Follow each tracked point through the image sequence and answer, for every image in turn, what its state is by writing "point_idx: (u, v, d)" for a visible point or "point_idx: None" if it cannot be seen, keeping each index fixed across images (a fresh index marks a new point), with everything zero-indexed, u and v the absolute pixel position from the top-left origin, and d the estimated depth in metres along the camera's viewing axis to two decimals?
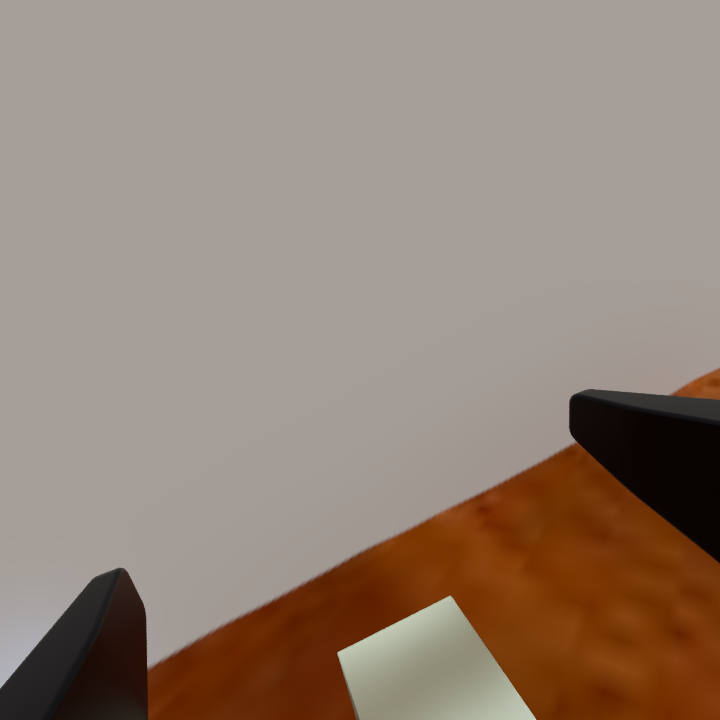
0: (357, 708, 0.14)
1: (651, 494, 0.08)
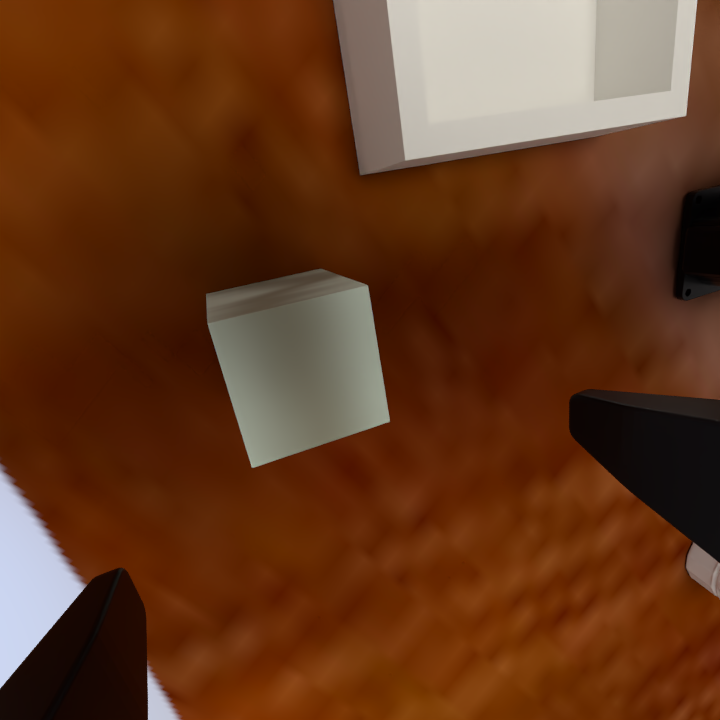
0: (312, 446, 0.14)
1: (651, 494, 0.08)
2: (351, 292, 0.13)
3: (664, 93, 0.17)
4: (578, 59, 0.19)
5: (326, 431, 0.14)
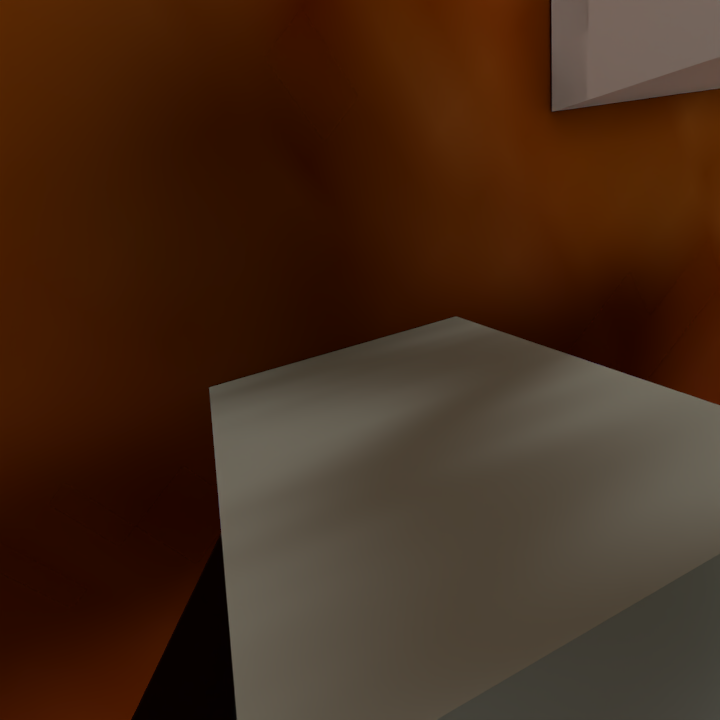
0: None
1: None
2: None
3: None
4: None
5: None
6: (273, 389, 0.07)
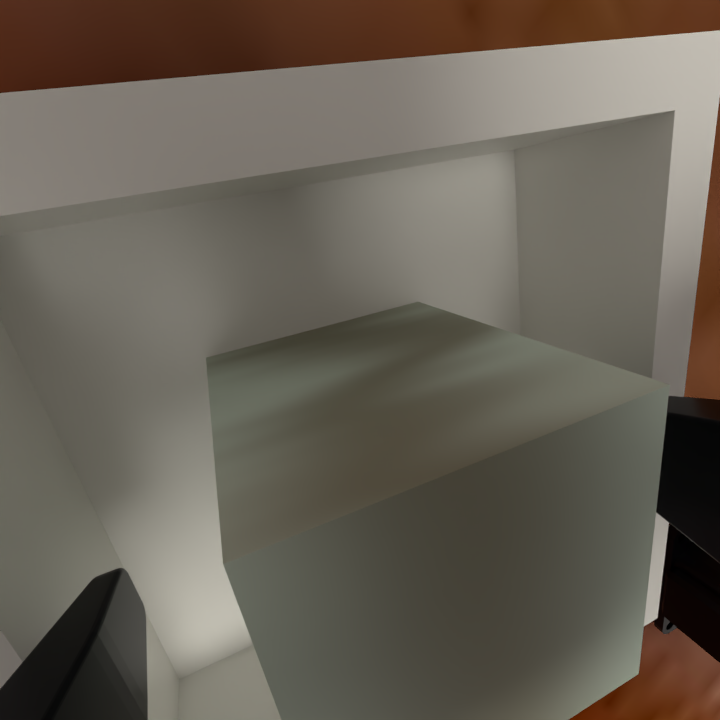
0: None
1: None
2: (632, 408, 0.05)
3: None
4: None
5: None
6: (258, 357, 0.08)
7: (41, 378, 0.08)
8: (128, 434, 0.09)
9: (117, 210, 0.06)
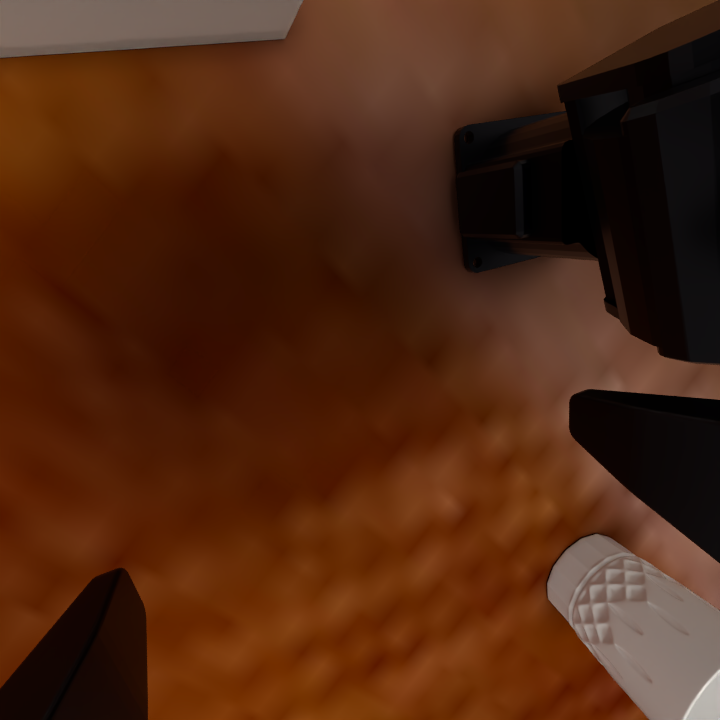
0: None
1: (651, 494, 0.08)
2: None
3: None
4: None
5: None
6: None
7: None
8: None
9: None
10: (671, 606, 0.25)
